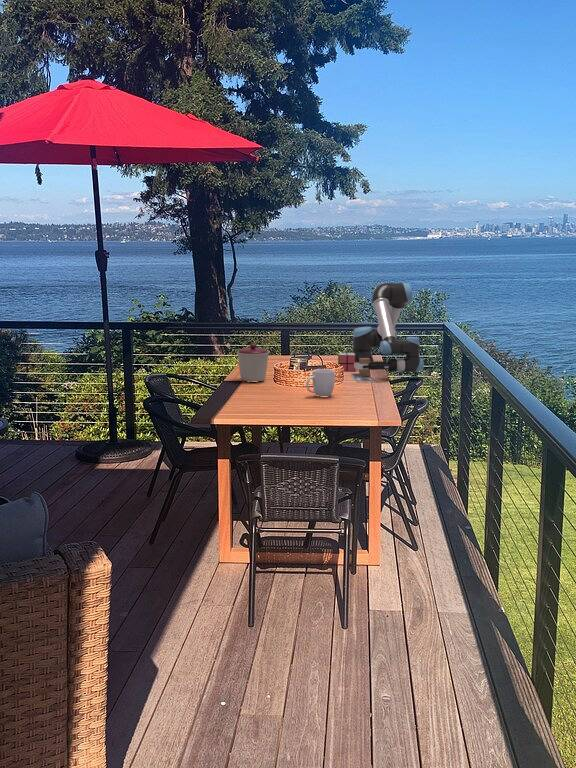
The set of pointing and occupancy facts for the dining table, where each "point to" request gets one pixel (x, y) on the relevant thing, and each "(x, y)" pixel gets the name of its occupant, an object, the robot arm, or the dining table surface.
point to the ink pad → (354, 375)
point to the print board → (364, 379)
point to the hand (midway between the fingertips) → (355, 366)
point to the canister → (253, 363)
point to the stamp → (364, 371)
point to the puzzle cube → (347, 361)
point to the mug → (322, 382)
